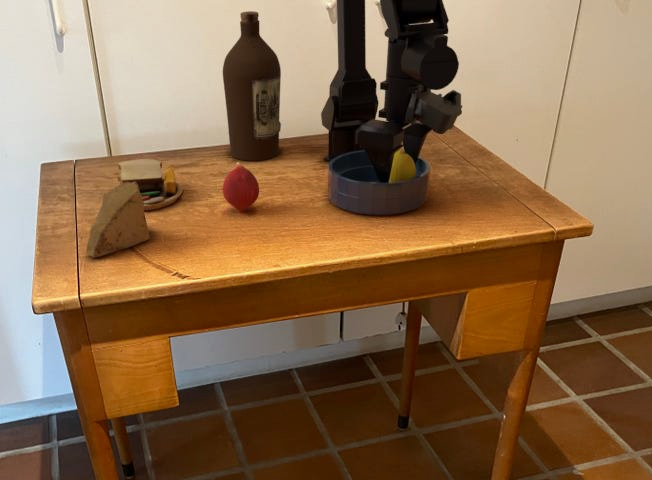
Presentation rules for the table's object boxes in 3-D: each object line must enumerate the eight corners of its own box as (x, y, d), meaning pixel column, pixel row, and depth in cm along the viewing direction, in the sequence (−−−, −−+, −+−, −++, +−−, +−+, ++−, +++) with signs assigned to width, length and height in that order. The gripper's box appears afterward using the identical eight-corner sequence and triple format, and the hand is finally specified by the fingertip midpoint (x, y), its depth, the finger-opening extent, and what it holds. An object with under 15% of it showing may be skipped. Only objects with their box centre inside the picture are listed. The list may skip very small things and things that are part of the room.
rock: (84, 254, 102) (154, 235, 103) (67, 196, 103) (136, 177, 104) (93, 268, 113) (156, 250, 114) (77, 215, 113) (140, 198, 114)
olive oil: (216, 154, 143) (206, 14, 129) (255, 141, 149) (250, 5, 135) (254, 166, 136) (248, 20, 122) (293, 152, 142) (292, 11, 128)
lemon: (413, 206, 117) (417, 156, 112) (378, 204, 118) (381, 155, 113) (414, 193, 121) (418, 145, 117) (380, 191, 122) (383, 144, 118)
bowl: (309, 204, 120) (309, 171, 117) (358, 174, 131) (359, 143, 128) (398, 225, 112) (401, 191, 109) (443, 191, 123) (446, 159, 120)
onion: (264, 205, 120) (263, 158, 116) (253, 219, 116) (250, 170, 112) (231, 202, 122) (228, 155, 118) (218, 216, 118) (215, 167, 113)
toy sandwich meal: (104, 214, 120) (100, 186, 117) (114, 184, 131) (111, 158, 128) (181, 210, 120) (178, 183, 117) (184, 181, 131) (182, 155, 129)
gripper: (428, 95, 98) (418, 205, 107) (482, 66, 111) (469, 167, 119) (355, 85, 104) (351, 191, 113) (414, 59, 116) (406, 156, 125)
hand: (398, 176), depth 117 cm, fingers open, 9 cm apart
